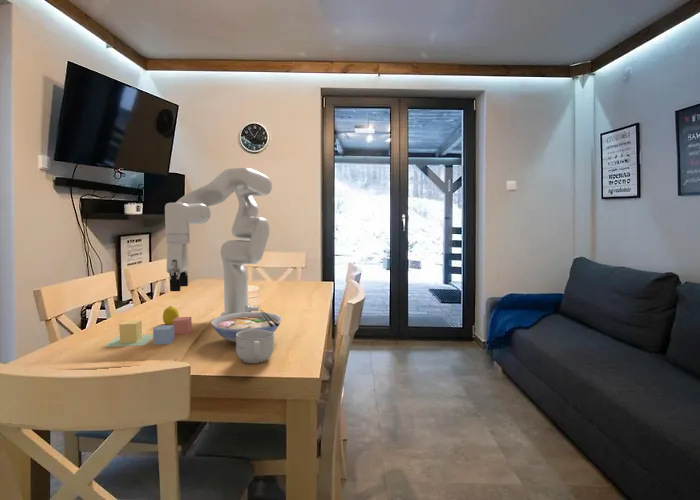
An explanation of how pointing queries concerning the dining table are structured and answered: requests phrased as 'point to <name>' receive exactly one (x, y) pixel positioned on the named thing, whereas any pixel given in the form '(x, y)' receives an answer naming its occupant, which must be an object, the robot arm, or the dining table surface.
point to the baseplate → (142, 341)
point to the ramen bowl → (245, 323)
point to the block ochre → (130, 331)
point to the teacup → (254, 345)
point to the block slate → (163, 334)
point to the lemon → (170, 315)
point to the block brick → (182, 325)
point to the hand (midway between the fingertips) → (179, 288)
